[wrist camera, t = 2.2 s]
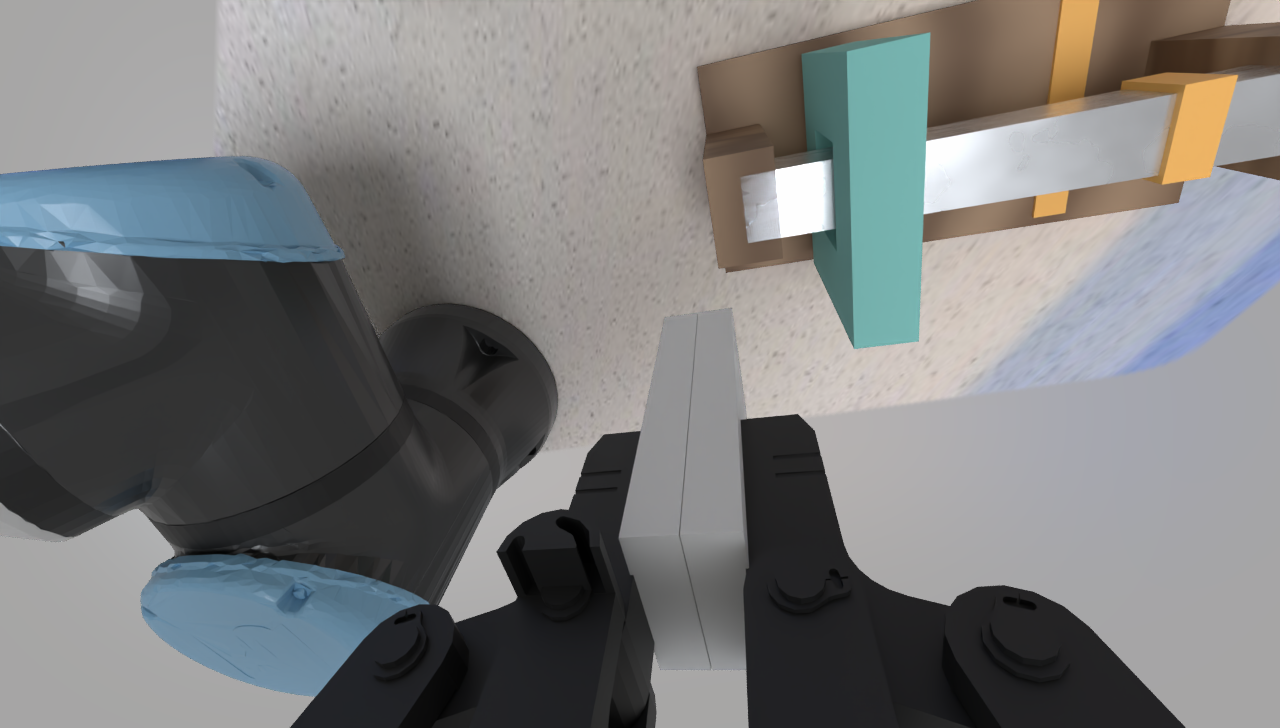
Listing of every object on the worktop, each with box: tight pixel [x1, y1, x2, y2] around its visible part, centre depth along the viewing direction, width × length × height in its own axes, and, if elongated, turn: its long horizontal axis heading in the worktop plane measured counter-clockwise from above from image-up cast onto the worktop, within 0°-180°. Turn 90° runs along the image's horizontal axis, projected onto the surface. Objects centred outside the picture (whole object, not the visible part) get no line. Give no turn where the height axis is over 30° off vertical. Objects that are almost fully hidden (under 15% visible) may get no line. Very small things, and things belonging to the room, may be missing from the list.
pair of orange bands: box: [1032, 0, 1238, 218], centre depth 24 cm, size 2×11×9 cm, turn 12°
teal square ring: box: [801, 32, 930, 349], centre depth 24 cm, size 2×11×11 cm, turn 12°
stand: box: [697, 0, 1280, 273], centre depth 26 cm, size 25×12×10 cm, turn 102°
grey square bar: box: [740, 65, 1280, 243], centre depth 23 cm, size 22×3×3 cm, turn 102°
